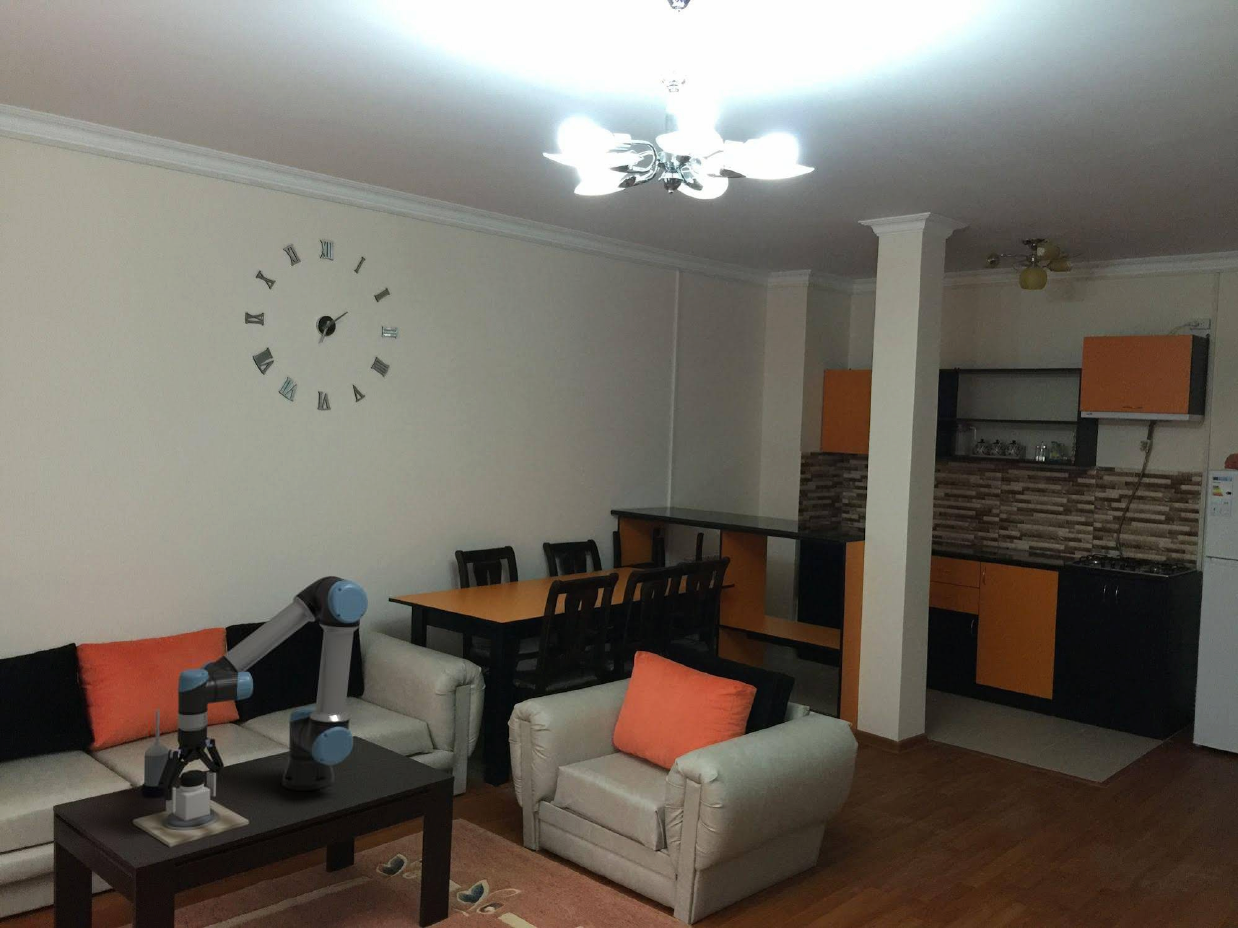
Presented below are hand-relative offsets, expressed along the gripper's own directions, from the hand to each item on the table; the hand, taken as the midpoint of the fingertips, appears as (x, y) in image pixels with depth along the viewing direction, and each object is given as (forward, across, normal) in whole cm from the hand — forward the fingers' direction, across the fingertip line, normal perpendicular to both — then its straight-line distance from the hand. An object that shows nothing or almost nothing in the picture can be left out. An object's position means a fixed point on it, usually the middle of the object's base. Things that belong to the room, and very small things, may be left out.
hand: (191, 803), depth 283 cm
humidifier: (+6, -11, -27) cm, 30 cm away
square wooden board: (+6, 0, 0) cm, 6 cm away
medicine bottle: (+3, 0, 0) cm, 3 cm away
